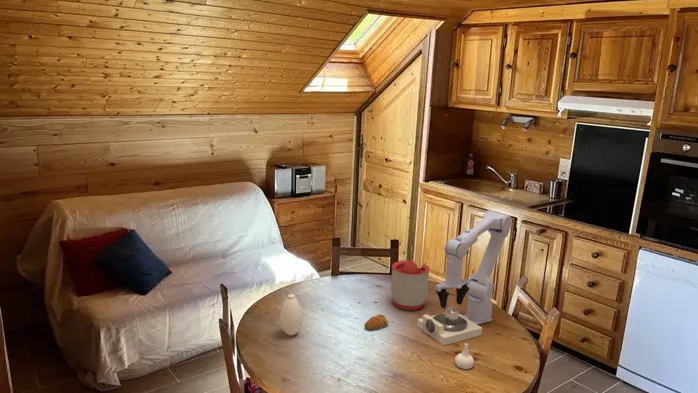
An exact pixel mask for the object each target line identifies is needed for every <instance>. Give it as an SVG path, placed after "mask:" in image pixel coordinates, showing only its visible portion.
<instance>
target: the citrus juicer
mask: <svg viewBox="0 0 698 393" xmlns="http://www.w3.org/2000/svg"><path fill="white" fill-rule="evenodd" d="M391 270H392V271H391V286H390V287H391V289H390V290H391V295H392V300H393V303H394V305H395V307H397V308H399V309H402V310H405V311H415V310H419V309H421V308H422V307H423V305H424V304H425V300H426V298H427V296H428V295H427V294H428V287H429V276H430V274H429V273H430V266H429V265H427V264H425V263H423V264H422V265H421V267H419V266H418V265H417V264H416V262H415V261H414V260H413V259H409V260H400V261H396V262H394V263H392V265H391Z"/></svg>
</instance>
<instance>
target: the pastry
mask: <svg viewBox="0 0 698 393" xmlns="http://www.w3.org/2000/svg"><path fill="white" fill-rule="evenodd" d="M388 321H389V320H388V319H387V317H386V316H385V315H383V314H377V315H375V316H372V317H369V319H368V320H367V321H366V322H365V323H364V329H366V330H368V331H378V330H379V331H380V330H381V329H384V328H386V327H388V326H389V322H388Z"/></svg>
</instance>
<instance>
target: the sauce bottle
mask: <svg viewBox="0 0 698 393" xmlns="http://www.w3.org/2000/svg"><path fill="white" fill-rule="evenodd" d="M302 323H303V313H302V308H301V305H300V302H299V301H298V299H297V298H296V296H295V294H293V289H292V288H290V294H288V295H287V298H286V299H285V300H284V302H283V304H282V306H281V310H280V315H279V324H280V328H281V330H282V331H283V333H285V334H286V333H287V334H288V336H294V335H296V334H297V333H298V332H299V331H300V329H301V326H302ZM287 334H286V335H287Z"/></svg>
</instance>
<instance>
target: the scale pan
mask: <svg viewBox="0 0 698 393" xmlns="http://www.w3.org/2000/svg"><path fill="white" fill-rule="evenodd" d="M435 315H436V316H434V315H433V316H434V317H433V319H435V320H436V321H438V322H439V323H441V324H442V325H444V330H445V331H452V332H455V331H462V330H464V329H466V328H467V321H466V320H465V319H464V318H462V317H460V316H458V324H457V325H448V324H446V323H445V322H444V318H445V314H443V313H439V314H435Z"/></svg>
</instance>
